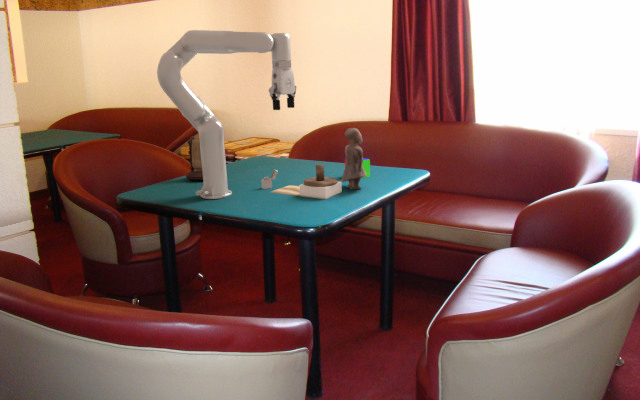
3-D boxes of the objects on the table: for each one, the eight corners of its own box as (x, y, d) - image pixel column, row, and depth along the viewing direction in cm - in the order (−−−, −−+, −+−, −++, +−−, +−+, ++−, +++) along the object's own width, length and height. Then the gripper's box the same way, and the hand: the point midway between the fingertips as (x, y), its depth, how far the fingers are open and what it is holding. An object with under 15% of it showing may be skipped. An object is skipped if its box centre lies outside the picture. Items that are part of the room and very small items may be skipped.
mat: (297, 197, 222) (297, 195, 222) (269, 193, 229) (269, 192, 229) (317, 189, 233) (317, 188, 233) (289, 186, 241) (289, 185, 241)
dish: (325, 200, 215) (325, 187, 214) (299, 197, 222) (299, 184, 220) (341, 193, 225) (341, 181, 224) (316, 190, 231) (316, 178, 230)
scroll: (180, 182, 257) (176, 138, 252) (195, 175, 271) (191, 133, 266) (210, 182, 254) (206, 138, 249) (223, 175, 268) (220, 133, 263)
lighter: (263, 190, 236) (262, 171, 234) (261, 189, 237) (260, 170, 235) (278, 188, 238) (278, 169, 237) (277, 187, 240) (276, 168, 238)
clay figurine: (372, 189, 229) (371, 128, 223) (350, 193, 225) (349, 130, 219) (357, 184, 241) (356, 125, 234) (336, 186, 237) (334, 127, 231)
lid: (325, 188, 213) (325, 169, 211) (297, 185, 220) (296, 167, 218) (342, 181, 224) (342, 163, 222) (315, 178, 231) (314, 161, 229)
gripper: (276, 66, 215) (278, 111, 219) (301, 64, 229) (303, 107, 233) (260, 66, 219) (263, 110, 223) (286, 64, 233) (288, 106, 237)
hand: (283, 108), depth 228 cm, fingers open, 9 cm apart
